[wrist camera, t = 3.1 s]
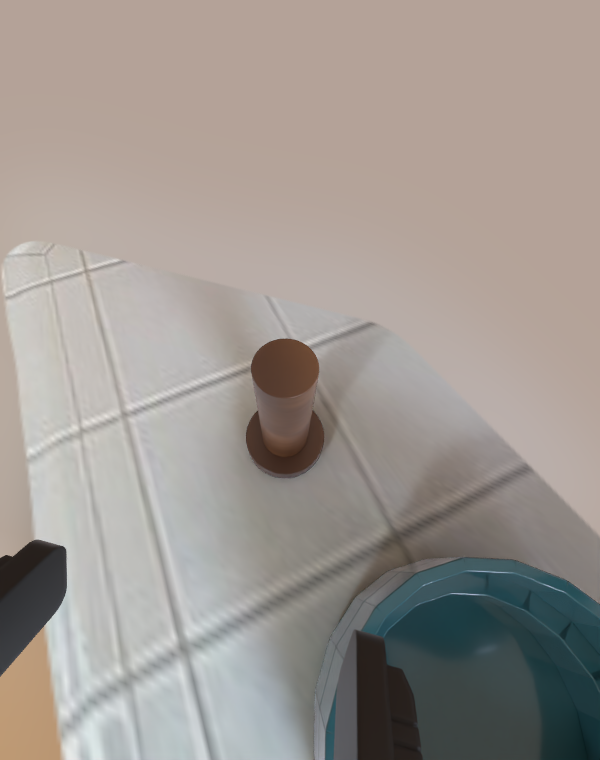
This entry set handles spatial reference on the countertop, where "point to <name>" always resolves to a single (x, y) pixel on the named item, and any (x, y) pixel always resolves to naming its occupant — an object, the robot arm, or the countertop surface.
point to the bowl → (480, 659)
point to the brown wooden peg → (285, 409)
